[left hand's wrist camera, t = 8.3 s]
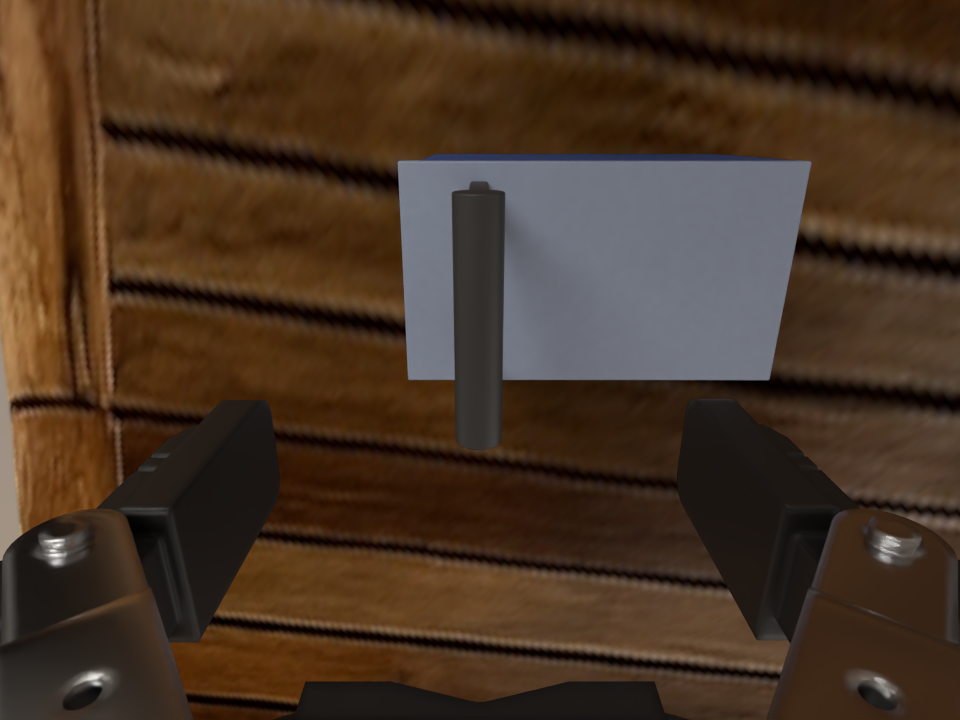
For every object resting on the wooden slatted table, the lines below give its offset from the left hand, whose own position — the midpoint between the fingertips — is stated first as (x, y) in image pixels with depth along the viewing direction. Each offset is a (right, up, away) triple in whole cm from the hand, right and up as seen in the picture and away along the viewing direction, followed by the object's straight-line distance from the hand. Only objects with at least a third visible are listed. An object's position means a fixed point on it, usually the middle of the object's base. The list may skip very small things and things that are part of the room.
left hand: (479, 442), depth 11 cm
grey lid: (+5, +5, +14) cm, 15 cm away
